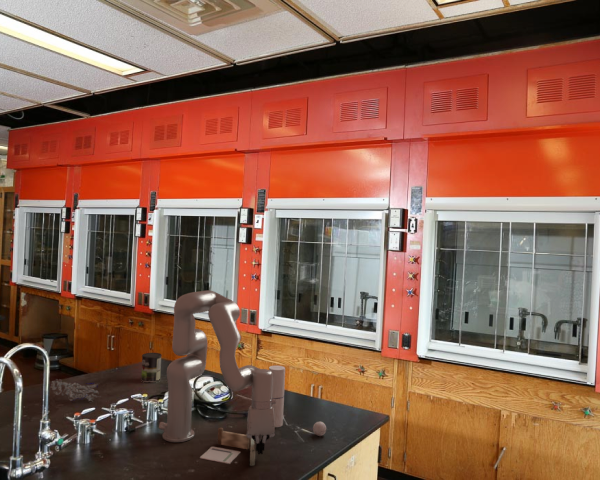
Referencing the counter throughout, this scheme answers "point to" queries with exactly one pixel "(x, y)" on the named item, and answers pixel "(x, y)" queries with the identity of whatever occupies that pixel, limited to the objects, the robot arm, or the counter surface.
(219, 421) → the counter surface
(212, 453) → the card
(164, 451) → the counter surface
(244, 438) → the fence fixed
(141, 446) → the counter surface
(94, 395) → the dark piece
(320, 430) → the pinkish brown egg
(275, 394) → the cylindrical container
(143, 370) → the coffee can
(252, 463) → the cream flat slab
